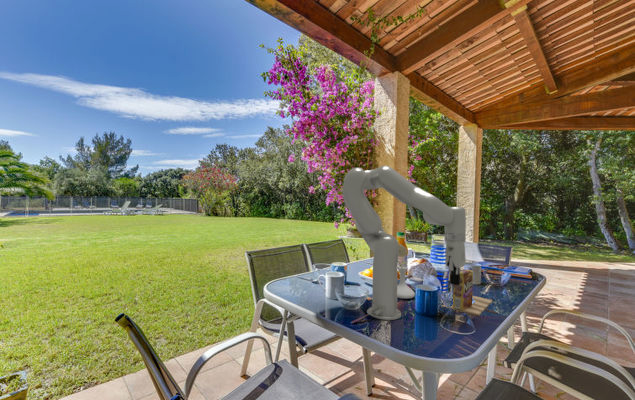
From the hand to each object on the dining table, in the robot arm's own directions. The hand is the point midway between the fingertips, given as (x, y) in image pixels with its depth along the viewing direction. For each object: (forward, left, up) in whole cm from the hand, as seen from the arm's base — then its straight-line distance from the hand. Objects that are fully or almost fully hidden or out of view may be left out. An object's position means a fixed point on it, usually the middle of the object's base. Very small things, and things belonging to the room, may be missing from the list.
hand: (454, 284), depth 109 cm
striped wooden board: (+18, 0, -12) cm, 22 cm away
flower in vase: (+6, +26, -12) cm, 30 cm away
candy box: (+10, 0, -12) cm, 16 cm away
